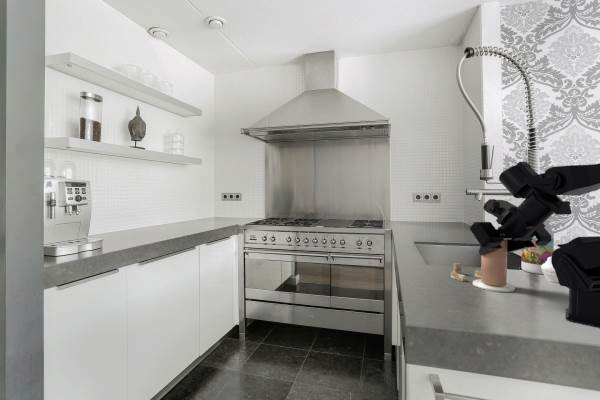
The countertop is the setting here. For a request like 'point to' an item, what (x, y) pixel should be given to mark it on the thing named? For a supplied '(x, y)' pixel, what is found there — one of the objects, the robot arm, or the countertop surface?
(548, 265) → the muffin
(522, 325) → the countertop surface
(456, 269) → the wooden blocks
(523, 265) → the milk bottle
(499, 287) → the white disc
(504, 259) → the salmon tan cylinder
